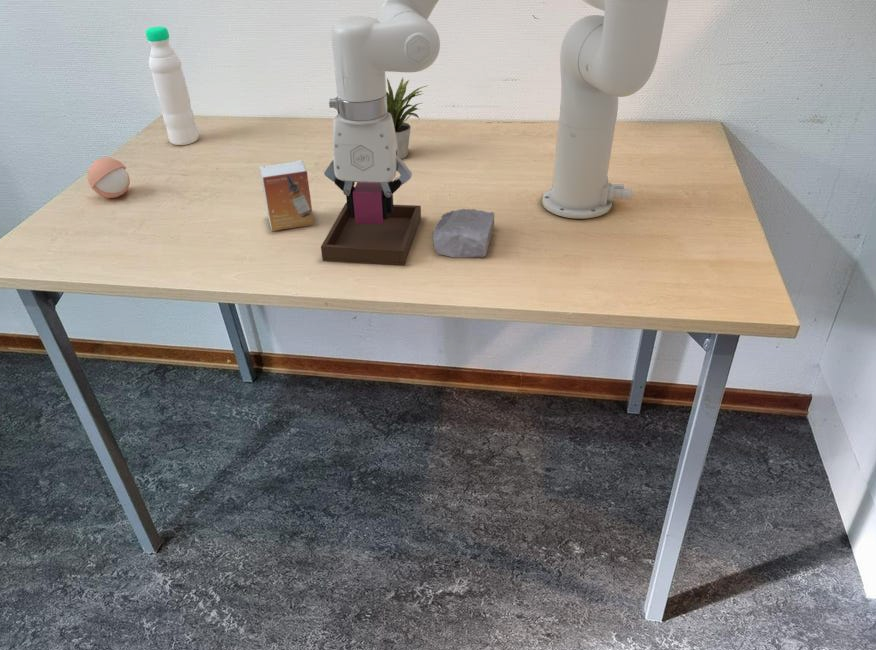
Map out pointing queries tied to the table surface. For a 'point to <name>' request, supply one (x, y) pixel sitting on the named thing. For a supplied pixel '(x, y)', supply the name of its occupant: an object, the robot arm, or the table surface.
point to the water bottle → (171, 88)
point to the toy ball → (108, 177)
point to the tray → (373, 238)
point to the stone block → (464, 233)
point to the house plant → (396, 112)
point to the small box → (287, 195)
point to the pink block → (368, 203)
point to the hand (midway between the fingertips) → (370, 213)
